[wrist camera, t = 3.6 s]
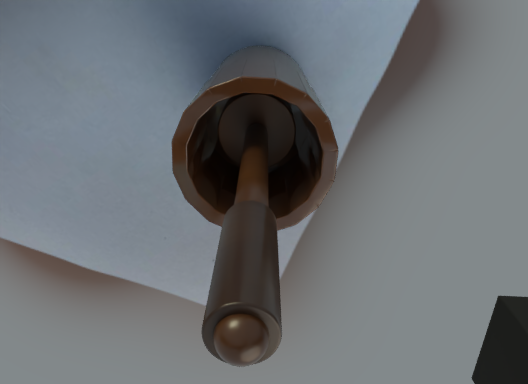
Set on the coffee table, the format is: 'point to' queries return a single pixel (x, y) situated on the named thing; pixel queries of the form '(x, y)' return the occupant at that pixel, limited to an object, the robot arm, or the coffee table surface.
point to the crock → (227, 171)
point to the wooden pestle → (249, 234)
